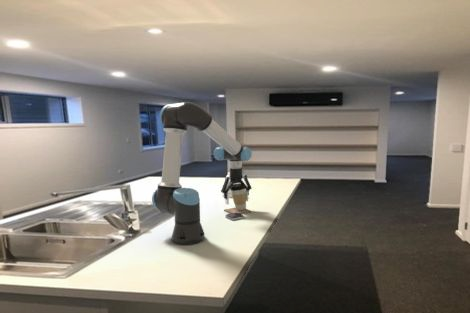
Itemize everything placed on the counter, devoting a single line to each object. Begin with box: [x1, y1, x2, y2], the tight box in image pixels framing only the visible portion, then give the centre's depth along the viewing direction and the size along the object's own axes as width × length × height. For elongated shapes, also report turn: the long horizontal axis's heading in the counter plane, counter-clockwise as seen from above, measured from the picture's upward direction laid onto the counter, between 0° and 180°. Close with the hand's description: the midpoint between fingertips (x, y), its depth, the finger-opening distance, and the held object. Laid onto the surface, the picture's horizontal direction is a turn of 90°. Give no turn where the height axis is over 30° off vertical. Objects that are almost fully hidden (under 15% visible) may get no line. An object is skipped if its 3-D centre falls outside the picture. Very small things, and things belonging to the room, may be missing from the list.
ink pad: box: [224, 213, 245, 221], centre depth 182 cm, size 8×8×2 cm
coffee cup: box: [230, 183, 247, 210], centre depth 196 cm, size 10×10×15 cm
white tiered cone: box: [221, 171, 237, 198], centre depth 240 cm, size 13×13×18 cm
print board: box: [223, 207, 252, 215], centre depth 195 cm, size 12×12×1 cm
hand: (236, 202), depth 195 cm, fingers open, 13 cm apart
